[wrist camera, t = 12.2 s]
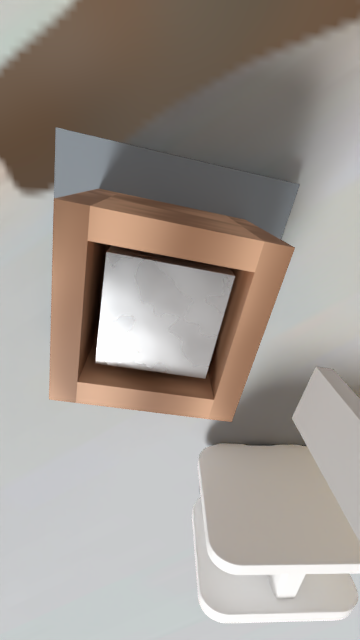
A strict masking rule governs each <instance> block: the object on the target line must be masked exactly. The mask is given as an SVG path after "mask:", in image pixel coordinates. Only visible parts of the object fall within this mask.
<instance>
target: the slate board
mask: <svg viewBox="0 0 360 640" xmlns="http://www.w3.org/2000/svg"><path fill="white" fill-rule="evenodd" d="M299 185H300V184H296V183H292V182H287V181H283V180H279V179H275V178H270V177H266V176H262V175H257V174H253V173H249V172H245V171H240V170H236V169H232V168H227V167H223V166H219V165H215V164H210V163H206V162H202V161H197V160H193V159H189V158H185V157H180V156H176V155H172V154H168V153H163V152H159V151H155V150H150V149H146V148H142V147H138V146H133V145H129V144H125V143H120V142H116V141H112V140H108V139H103V138H99V137H95V136H90V135H86V134H81V133H78V132H73V131H68V130H65V129H61V128H56V142H55V183H54V198H58V197H63V196H67V195H72V194H76V193H81V192H85V191H90V190H94V189H104V190H108V191H113V192H118V193H123V194H127V195H132V196H137V197H141V198H146V199H151V200H155V201H160V202H165V203H170V204H174V205H179V206H184V207H188V208H193V209H198V210H202V211H207V212H212V213H217V214H221V215H226V216H231V217H235V218H240V219H245V220H247V221H249V222H250V223H252V224H254V225H256V226H258V227H259V228H261V229H263V230H265V231H266V232H268V233H270V234H272V235H273V236H275V237H277V238H279V239H280V240H281V238H282V235H283V232H284V229H285V226H286V223H287V220H288V217H289V215H290V212H291V209H292V206H293V203H294V200H295V197H296V194H297V191H298V188H299Z"/></svg>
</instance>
